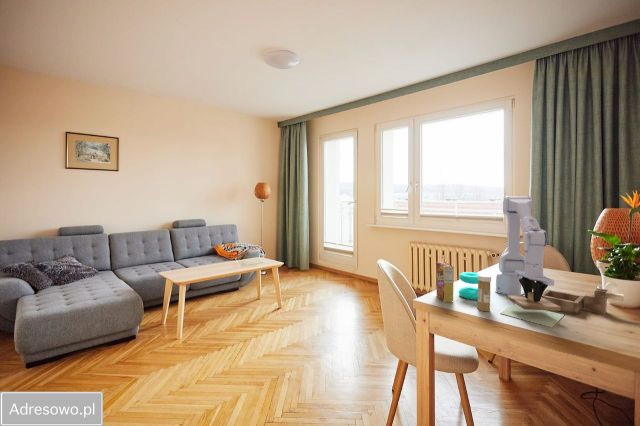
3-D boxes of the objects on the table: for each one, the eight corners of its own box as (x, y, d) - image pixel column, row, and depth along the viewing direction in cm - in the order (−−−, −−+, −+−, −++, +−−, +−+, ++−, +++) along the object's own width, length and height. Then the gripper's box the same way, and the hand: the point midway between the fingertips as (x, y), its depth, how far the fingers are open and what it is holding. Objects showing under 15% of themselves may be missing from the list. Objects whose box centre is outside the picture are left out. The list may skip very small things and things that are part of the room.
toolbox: (538, 306, 125) (539, 295, 124) (547, 299, 133) (547, 289, 132) (577, 315, 116) (577, 303, 115) (584, 307, 123) (584, 296, 123)
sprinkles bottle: (490, 312, 119) (491, 277, 118) (476, 310, 121) (477, 275, 120) (490, 308, 123) (491, 274, 122) (477, 306, 125) (478, 273, 124)
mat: (500, 313, 117) (500, 313, 117) (515, 304, 127) (515, 303, 127) (552, 327, 105) (552, 326, 105) (564, 315, 115) (564, 314, 115)
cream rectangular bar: (593, 295, 119) (594, 290, 119) (594, 294, 120) (595, 289, 120) (623, 301, 113) (623, 295, 113) (623, 300, 114) (624, 294, 114)
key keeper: (583, 309, 121) (584, 288, 120) (585, 307, 123) (586, 286, 123) (604, 314, 116) (605, 291, 116) (606, 311, 119) (607, 289, 118)
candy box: (435, 295, 138) (436, 261, 137) (445, 295, 138) (445, 261, 137) (443, 302, 129) (443, 266, 128) (453, 302, 129) (454, 266, 128)
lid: (507, 298, 122) (507, 287, 122) (539, 299, 121) (539, 288, 121) (524, 309, 110) (524, 297, 110) (560, 310, 109) (561, 298, 109)
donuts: (471, 278, 130) (454, 272, 139) (471, 301, 131) (453, 294, 140) (490, 275, 133) (471, 270, 143) (489, 298, 134) (470, 292, 143)
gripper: (562, 267, 109) (560, 305, 110) (525, 258, 123) (524, 292, 124) (545, 268, 107) (543, 307, 108) (510, 259, 121) (509, 294, 122)
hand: (532, 299), depth 116 cm, fingers closed on lid, 3 cm apart
